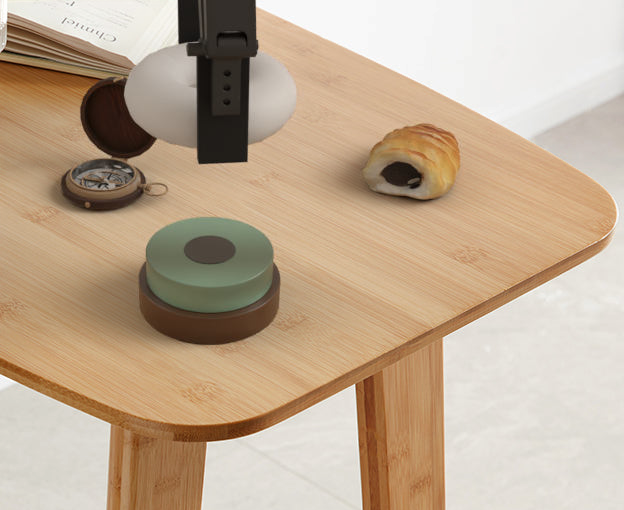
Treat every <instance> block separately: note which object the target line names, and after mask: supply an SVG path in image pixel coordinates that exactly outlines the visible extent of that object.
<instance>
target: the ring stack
mask: <svg viewBox="0 0 624 510" xmlns="http://www.w3.org/2000/svg"><path fill="white" fill-rule="evenodd" d="M274 255H275V250H274V247H273V244H272V242H271V240H270V239H269V237H268V236H267V235H266V234H265V233H264V232H262V230H260V229H259V228H256V227H255V226H254V225H252V224H251V225H250V224H249V223H246V222H243V221H241V220H237V219H232V218H228V217H222V216H221V217H220V216H198V217H191V218H190V217H189V218H185V219H180V220H178V221H177V220H176V221H175V222H171V223H169V224H167V225H165V226H164V227H162V228H160V229H159V230H158V231H156V232H155V233H154V234H153V235H152V236H151V237H150V239H148V242H147V244H146V247H145V260H144V262H143V263H142V265H141V266H140V269H139V273H138V300H139V309H140V312H141V314H142V316H143V319H145V321H146V322H147V323H148V324H149V325H150V326H151V327H152V328H153V329H155V330H156V331H157V332H159V333H161V334H163V335H165V336H168V337H169V338H172V339H174V340H178V341H182V342H185V343H191V344H197V345H198V344H199V345H200V344H201V345H218V344H227V343H228V344H229V343H233V342H234V343H235V342H239V341H242V340H245V339H247V338H250V337H253V336H254V335H256V334H258V333H260V332H262V331H263V330H264V329H266V328H267V327H268V326H269V325H271V323H272V322H273V321H274V319H276V316H277V315H278V312H279V308H280V298H281V297H280V296H281V295H280V294H281V273H280V270H279V268H278V266H277V264H276V263H275V262H274V257H275V256H274Z"/></svg>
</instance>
